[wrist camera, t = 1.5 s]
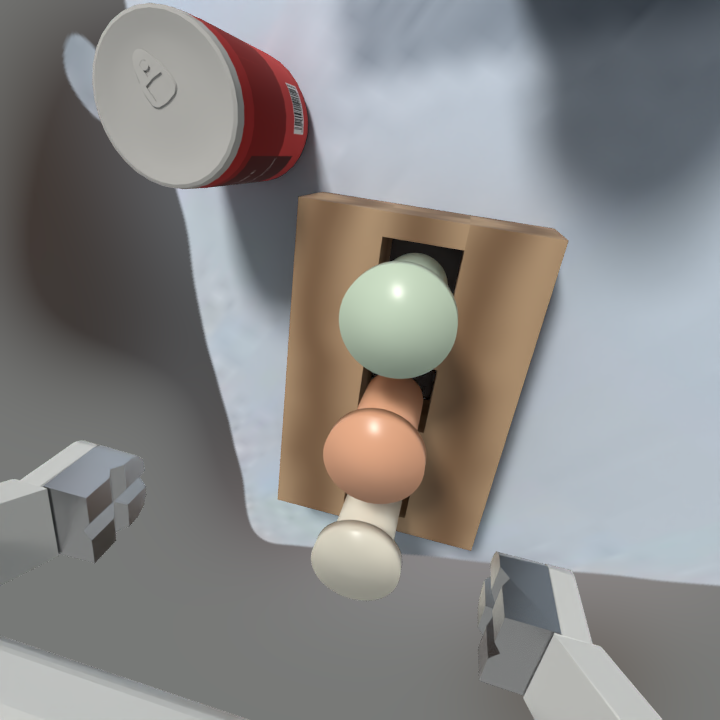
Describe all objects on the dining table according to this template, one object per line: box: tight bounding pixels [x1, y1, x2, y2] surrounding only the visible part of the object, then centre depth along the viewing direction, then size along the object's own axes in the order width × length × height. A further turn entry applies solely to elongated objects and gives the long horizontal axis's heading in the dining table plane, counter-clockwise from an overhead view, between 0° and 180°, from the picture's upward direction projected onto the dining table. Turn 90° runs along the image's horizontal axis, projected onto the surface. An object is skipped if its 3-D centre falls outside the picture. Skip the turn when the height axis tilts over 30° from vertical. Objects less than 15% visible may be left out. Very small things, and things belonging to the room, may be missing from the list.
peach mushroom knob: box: [323, 375, 426, 504], centre depth 28 cm, size 6×6×8 cm
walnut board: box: [278, 192, 568, 551], centre depth 34 cm, size 16×24×5 cm, turn 173°
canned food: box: [92, 3, 308, 189], centre depth 27 cm, size 8×8×11 cm
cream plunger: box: [311, 494, 402, 601], centre depth 32 cm, size 6×6×8 cm
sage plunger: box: [339, 253, 458, 379], centre depth 25 cm, size 6×6×8 cm
